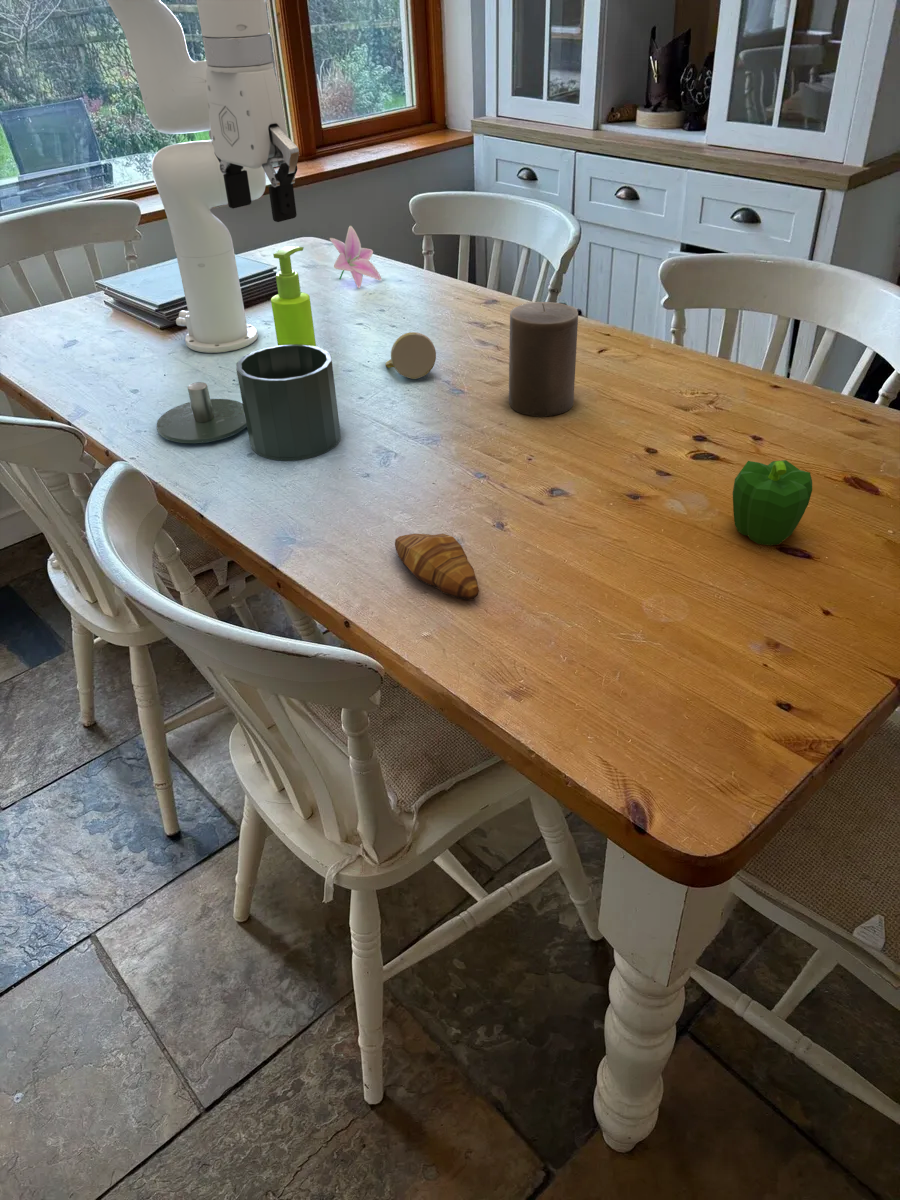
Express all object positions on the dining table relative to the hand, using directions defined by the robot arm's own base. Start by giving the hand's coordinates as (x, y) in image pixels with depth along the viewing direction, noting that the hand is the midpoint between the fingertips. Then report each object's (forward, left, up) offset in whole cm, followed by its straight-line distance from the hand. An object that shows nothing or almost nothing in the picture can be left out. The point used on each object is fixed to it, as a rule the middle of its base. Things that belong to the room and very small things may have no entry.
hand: (262, 212), depth 110 cm
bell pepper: (+67, -4, -29) cm, 73 cm away
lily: (-25, +61, -29) cm, 72 cm away
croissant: (+36, -26, -29) cm, 53 cm away
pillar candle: (+31, +20, -29) cm, 47 cm away
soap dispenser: (-8, +15, -29) cm, 34 cm away
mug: (+7, +24, -29) cm, 38 cm away
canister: (+3, -4, -29) cm, 29 cm away
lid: (-12, -5, -28) cm, 31 cm away
